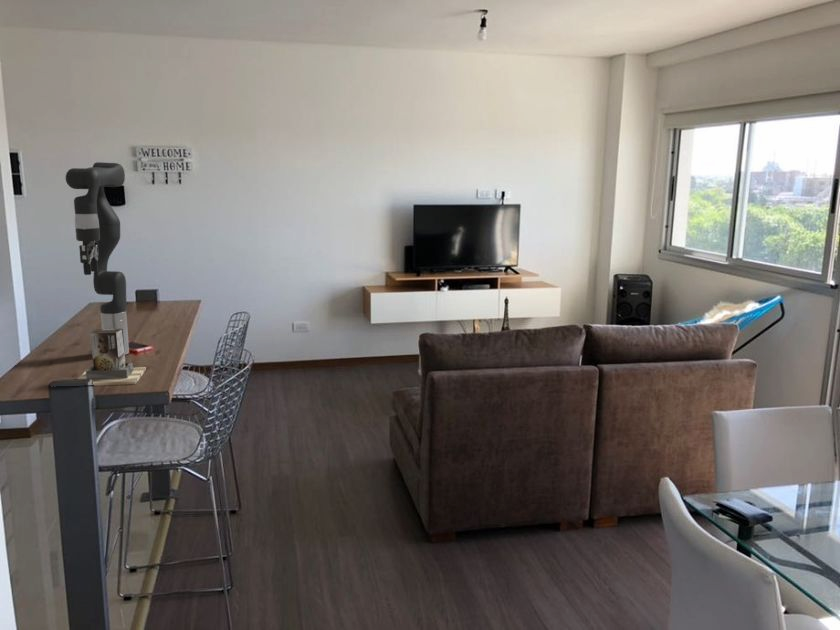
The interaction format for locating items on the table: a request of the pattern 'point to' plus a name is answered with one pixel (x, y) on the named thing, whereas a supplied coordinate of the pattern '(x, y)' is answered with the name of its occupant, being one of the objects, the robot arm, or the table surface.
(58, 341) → the table surface
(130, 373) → the mount plate
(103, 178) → the robot arm
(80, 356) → the table surface
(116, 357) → the coffee box
